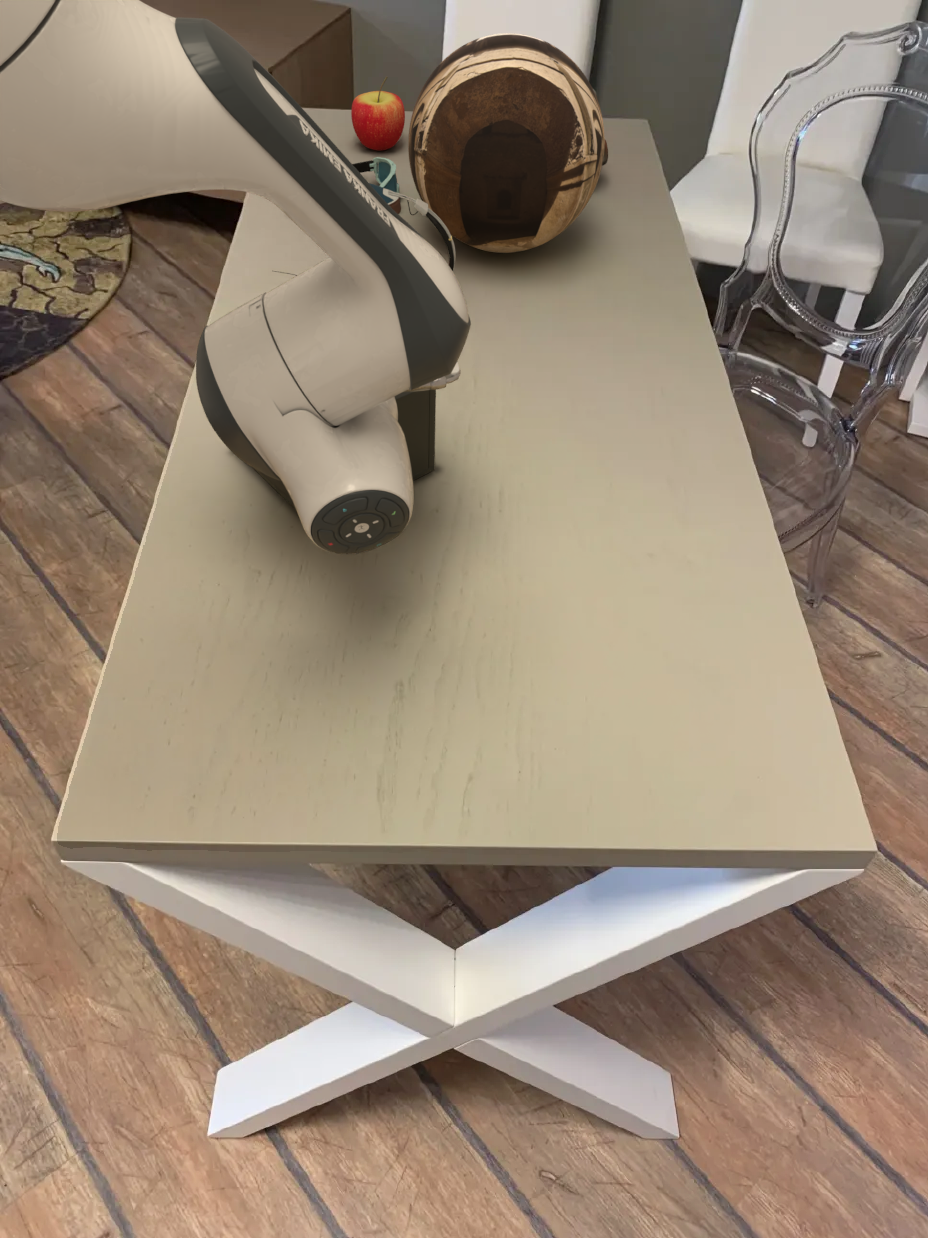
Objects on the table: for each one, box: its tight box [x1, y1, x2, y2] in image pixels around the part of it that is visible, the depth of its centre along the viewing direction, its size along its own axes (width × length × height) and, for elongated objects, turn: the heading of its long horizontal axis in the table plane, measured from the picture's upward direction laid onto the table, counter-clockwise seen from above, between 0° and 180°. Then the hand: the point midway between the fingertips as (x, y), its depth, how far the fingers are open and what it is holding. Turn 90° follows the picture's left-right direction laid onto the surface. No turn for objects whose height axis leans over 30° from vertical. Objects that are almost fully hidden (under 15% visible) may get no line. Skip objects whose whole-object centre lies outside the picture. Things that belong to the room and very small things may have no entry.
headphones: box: [273, 182, 456, 276], centre depth 112 cm, size 6×15×22 cm
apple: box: [350, 76, 406, 152], centre depth 146 cm, size 8×8×10 cm
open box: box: [253, 390, 437, 510], centre depth 93 cm, size 15×15×11 cm
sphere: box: [407, 32, 606, 254], centre depth 121 cm, size 25×25×25 cm
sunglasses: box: [351, 156, 400, 194], centre depth 135 cm, size 14×15×5 cm
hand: (320, 303), depth 84 cm, fingers open, 8 cm apart
